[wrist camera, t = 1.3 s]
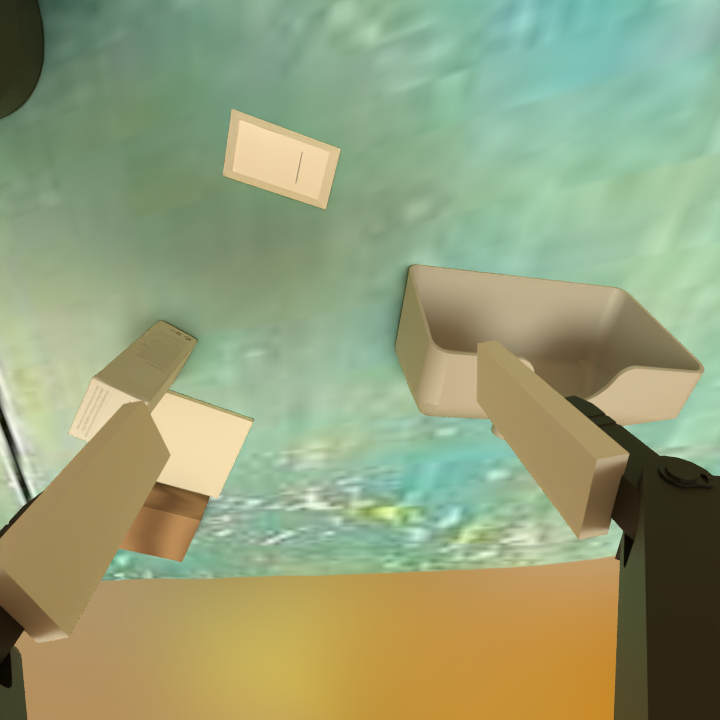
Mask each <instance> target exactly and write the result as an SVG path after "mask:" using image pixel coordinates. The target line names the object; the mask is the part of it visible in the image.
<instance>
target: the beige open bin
mask: <svg viewBox="0 0 720 720" xmlns="http://www.w3.org/2000/svg"><path fill="white" fill-rule="evenodd" d="M494 340H497V341H498V342H499V343H500V344H501V345H503V346H504V347H505V348H506V349H507V350H508V351H510V352H511V353H512V354H513V355H514V356H516V357H517V358H518V359H519V360H520V361H521V362H523V363H524V364H525V365H526V366H527V367H528V368H530V369H531V370H532V371H533V372H534V373H535V374H537V375H538V376H539V377H540V378H541V379H543V380H544V381H545V382H546V383H547V384H548V385H550V386H551V387H552V388H553V389H554V390H555V391H557V392H558V393H559V394H560V395H561V396H563V397H569V396H574V395H575V396H577V397H579V398H582V399H584V400H586V401H589V402H591V403H593V404H594V405H595V406H597V407H598V408H599V409H600V410H602V411H603V412H604V413H605V415H606V416H609V417H611V418H612V419H613V420H614V421H616V423H617V424H620V425H621V426H625V425H632V424H639V423H646V422H653V421H660V420H667V419H674V418H676V417H677V416H678V414H679V412H680V411H681V409H682V407H683V406H684V404H685V402H686V401H687V399H688V397H689V396H690V394H691V392H692V391H693V389H694V387H695V386H696V384H697V382H698V381H699V379H700V377H701V375H702V374H703V372H704V367H703V365H702V364H701V363H700V361H699V360H697V359H696V358H695V357H694V356H693V355H692V354H691V353H690V352H689V351H688V350H687V349H686V348H685V347H684V346H683V345H682V344H681V343H680V342H679V341H678V340H677V339H676V338H675V337H674V336H673V335H672V334H671V333H670V332H668V331H667V330H666V329H665V328H664V327H663V326H662V325H661V324H660V323H659V322H658V321H657V320H656V319H655V318H654V317H653V316H652V315H651V314H650V313H649V312H648V311H647V310H646V309H645V308H644V307H643V306H642V305H641V304H639V303H638V302H637V301H636V300H635V299H634V298H633V297H632V296H631V295H630V294H629V293H627V292H626V291H624V290H622V289H619V288H617V287H609V286H601V285H592V284H583V283H574V282H566V281H557V280H548V279H539V278H531V277H522V276H513V275H505V274H496V273H487V272H478V271H470V270H461V269H452V268H443V267H435V266H426V265H417V264H416V265H413V266H411V267H410V269H409V274H408V280H407V285H406V291H405V296H404V302H403V307H402V313H401V319H400V324H399V330H398V335H397V341H396V346H395V351H396V354H397V357H398V359H399V362H400V365H401V367H402V370H403V373H404V375H405V378H406V381H407V384H408V386H409V389H410V391H411V393H412V395H413V398H414V400H415V402H416V404H417V407H418V409H419V411H420V412H421V413H422V414H424V415H427V416H437V417H456V418H476V419H489V417H488V416H487V415H486V413H485V412H484V411H483V409H482V408H481V407H480V405H479V404H478V403H477V343H483V342H488V341H494ZM491 431H492V433H493V434H494V435H495V436H497V437H499V438H501V439H504V438H503V436H502V435H501V434H500V432H499V431H498V430H497V428H496V427H495V426H494V424H493V426H492V429H491ZM504 440H505V439H504Z"/></svg>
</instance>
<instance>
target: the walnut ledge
mask: <svg viewBox="0 0 720 720" xmlns="http://www.w3.org/2000/svg"><path fill="white" fill-rule="evenodd" d="M209 497H210V496H208V495H204V494H201V493H197V492H193V491H190V490H186V489H182V488H179V487H175V486H171V485H168V484H164V483H160V482H157V481H156V483H155V484H154V486H153V488H152V490H151V492H150V493H149V495H148V497H147V499H146V501H145V502H144V504H143V506H142V508H141V510H140V511H139V513H138V515H137V517H136V518H135V520H134V522H133V524H132V526H131V527H130V529H129V531H128V533H127V535H126V536H125V538H124V540H123V542H122V543H121V545H120V547H119V548H120V549H125V550H129V551H134V552H139V553H143V554H148V555H152V556H157V557H162V558H166V559H171V560H175V561H180V562H182V561H183V558H184V556H185V554H186V552H187V550H188V547H189V545H190V543H191V541H192V539H193V536H194V534H195V532H196V530H197V528H198V525H199V523H200V521H201V518H202V516H203V513H204V510H205V508H206V505H207V503H208V500H209Z"/></svg>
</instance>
